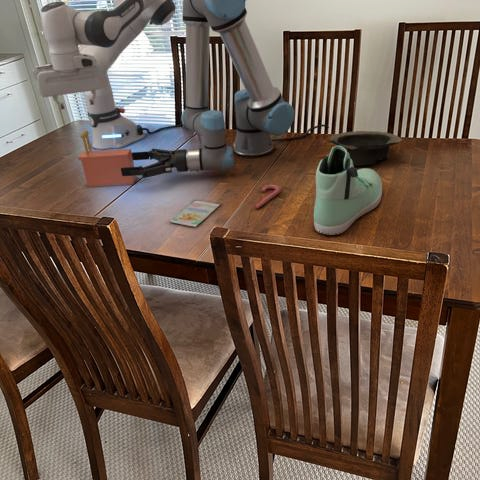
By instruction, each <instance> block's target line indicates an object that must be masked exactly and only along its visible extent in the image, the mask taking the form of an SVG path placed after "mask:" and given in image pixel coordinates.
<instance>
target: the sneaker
mask: <svg viewBox="0 0 480 480" xmlns="http://www.w3.org/2000/svg"><path fill="white" fill-rule="evenodd" d="M317 165H318V166H317V168H316V172H315V201H314V207H313V225H314V229H315V231H316V232H318V233H320V234H323V235H326V236H327V235H328V236H336V235H339V234H342V233H344V232H345V231H347V230H348V229H349V228H350V227H351V226H352V225H353V224H354V222H356V221H357V220H358V219H359V218H360V217H362V216H363V215H365V214H367V213H370V212H372V210H374V209H375V208H377V207H378V205H380V203H381V200H382V196H383V184H382V183H383V182H382V179H381V176H380V175H379V173H378V172H377V171H376V170H374V169H372V168H367V167H365V168H358V169H357V168H355V167H354V166H355V165H353V161H352V159H350V156H349V153H348V152H347V150H346V149H345V148H344V147H342V146H338V145H334V146H333V147H331V149H330V151H329V154H327V155H326V156H325V157H324V158H322V159H321V160H320V161H319V163H318V164H317ZM343 230H344V231H343ZM319 231H320V232H319ZM322 232H323V233H322ZM339 232H340V233H339ZM326 233H327V234H326ZM328 233H329V234H328ZM335 233H337V234H335Z"/></svg>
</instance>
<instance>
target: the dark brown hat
mask: <svg viewBox="0 0 480 480" xmlns="http://www.w3.org/2000/svg"><path fill="white" fill-rule="evenodd" d="M402 141H403V138H401V137H400V136H398V135H396V134H394V133H389V132H386V131H385V132H384V131H377V130H376V131H374V130H356V131H355V130H354V131H345V132H341V133H337V134H332V135H331V136H329V140H328V143H331V144H333V145H334V146H342V147H344V148H345V149H346V150H347V152H348V153H349V156H350V159H352V161H353V166H355V167H364V166H373V165H375V164H376V163H377V161H386V160H387V159H388V158H389V155H390V148H391V147H392V146H395V145H398V144H399V143H401V142H402Z"/></svg>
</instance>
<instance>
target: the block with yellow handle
mask: <svg viewBox="0 0 480 480" xmlns="http://www.w3.org/2000/svg"><path fill="white" fill-rule="evenodd" d="M89 135H90V134H89V131H88V130H84V131H83V132H82V134H81V135H80V138H81V139H82V142H83V146H84V150H85V151H82V152H81V153H80V154H79V156H78V157H77V160H78V161H81V160H88V159H105V158H122V157H128V156H129V154H130V153H131V152H132V149H131V148H117V149H101V150H92V144H91V141H90V138H89Z"/></svg>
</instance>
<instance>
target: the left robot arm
mask: <svg viewBox="0 0 480 480" xmlns="http://www.w3.org/2000/svg"><path fill="white" fill-rule="evenodd" d="M112 2H113V5H114V7H113V8H112V9H110V10H98V11H97V10H96V11H92V10H91V11H85V10H84V11H83V10H79V9H76V8H73V7H71V6H69V5H68V4H67V3H66V2H65V1H54V2H50V3H47V4H45V5H43V6H42V7H41V9H40V22H41V27H42V28H41V29H42V31H43V36H44V39H45V41H46V42H47V46H48V55H49V58H50V62H51V63H45V64H38V65H36V66H35V67H34V68H33V70H32V75H33V78H34V79H35V81H36V82H37V87H38V93H39V95H40V96H41V97H42V98H49V97H52V98H53V99H52V100H53V101H54V102H55V103H56V104H57V105H58V107H59V110H60V111H61V110H65V109H66V106H65V103H64V102H61V101H60V99H59V96H65V95H71V94H78V93H83V95H84V100H85V104H86V108H87V118H88V122H89V125H90V127H91V128H90V129H91V137H92V138H91V140H92V141H91V148H94V149H98V150H110V149H123V148H124V147H127V146H128V145H131V144H132V143H135V142H137V141H139V140H141V139H143V138H145V137H146V135H145V133H144V131H146V133H147V134H149V135H152V134H156V133H158V132H160V131H163V130H168V129H175V128H180V127H185V126H184V124H183V123H181V124H175V125H167V126H163V127H160V128H158V129H156V130H154V131H150V130H149V128H147V127H143V126H142V125H141V124H136V123H135V122H134V121H133V120H131V119H129V118H127V117H125V116H123V115H122V114H125V112H126V109H125V108H124V107H123V108H122V107H117V106H116V103H115V97H114V94H113V88H112V85H111V81H110V78H109V75H108V70H109V69H110V68H111V67H112V66H113V65H114V63H116V61H117V60H118V58H119V57H120V56H121V54H122V53H123V52H124V51H125V50H126V49H127V48H128V47H129V46H130V44H132V43H133V41H135V40H136V38H137V37H139V36H140V35H141V33H143V31H144V30H145V28H146V27H147V26H148V24H149V25H154V26H163V25H165V24H167V23H169V22H170V21H171V20H172V18H173V17H174V15H175V12H176V9H177V8H176V5H175V4H176V3H174V1H173V0H112Z"/></svg>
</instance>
